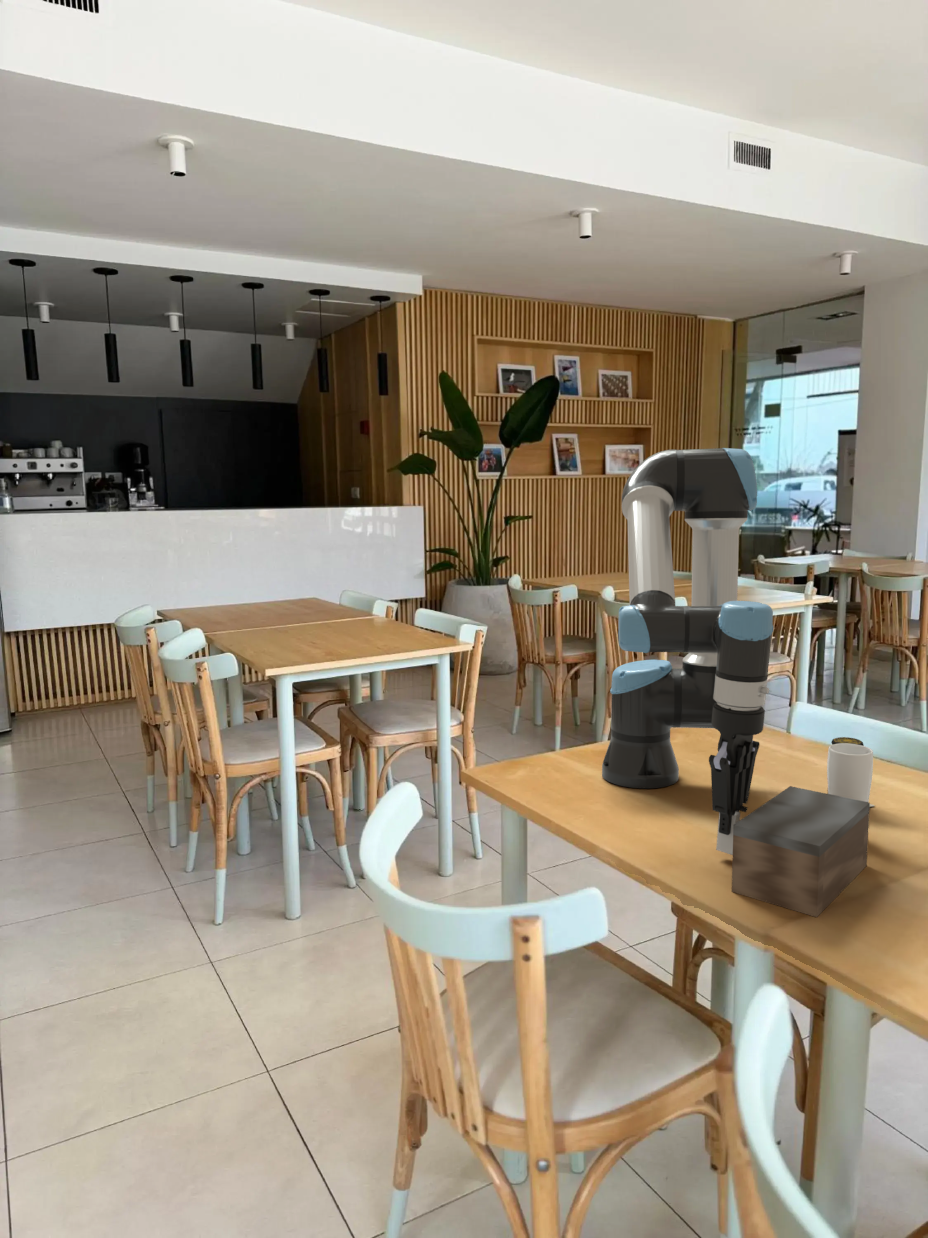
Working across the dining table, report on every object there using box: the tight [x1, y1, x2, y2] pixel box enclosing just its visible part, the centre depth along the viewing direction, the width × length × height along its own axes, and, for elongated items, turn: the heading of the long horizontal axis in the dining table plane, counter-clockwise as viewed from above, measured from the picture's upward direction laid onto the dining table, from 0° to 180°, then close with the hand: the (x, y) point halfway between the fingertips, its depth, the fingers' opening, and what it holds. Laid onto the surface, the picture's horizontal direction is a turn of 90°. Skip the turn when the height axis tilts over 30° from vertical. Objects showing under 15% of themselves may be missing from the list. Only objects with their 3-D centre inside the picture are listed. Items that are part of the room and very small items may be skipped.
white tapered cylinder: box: [826, 743, 874, 803], centre depth 142 cm, size 7×7×15 cm
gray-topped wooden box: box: [731, 785, 871, 918], centre depth 128 cm, size 12×21×10 cm, turn 139°
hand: (726, 851), depth 135 cm, fingers closed
